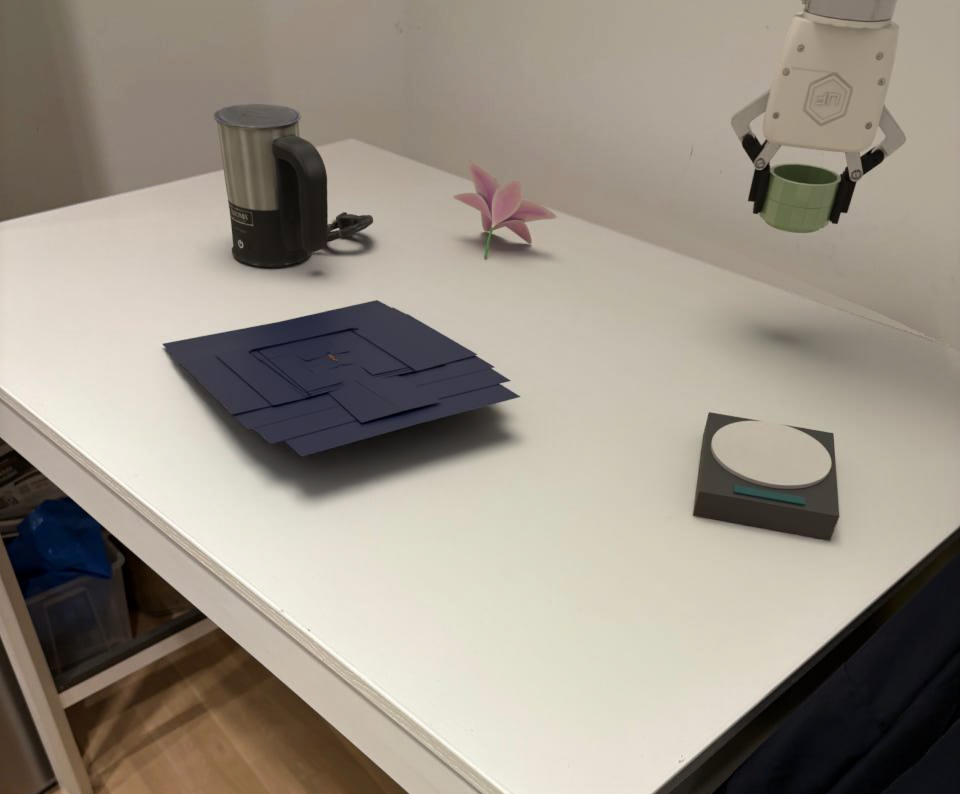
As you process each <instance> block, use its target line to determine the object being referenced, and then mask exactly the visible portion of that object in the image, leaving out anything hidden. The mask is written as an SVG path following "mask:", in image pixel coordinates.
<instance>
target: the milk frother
mask: <svg viewBox="0 0 960 794" xmlns="http://www.w3.org/2000/svg"><path fill="white" fill-rule="evenodd" d="M212 116H213V119H214V121H215V122H216V125H217V133H218V140H219V147H220V154H221V162H222V167H223V168H222V169H223V176H224V182H225V189H226V195H227V202H228V210H229V217H230V227H231V228H230V229H231V237H232V238H231V239H232V247H231V254H232V256H233V257H234V258H235V259H236V260H237V261H239V262H241V263H244V264H246V265H250V266H251V265H252V266H257V267H269V268H270V267H283V266H290V265H293V264H297V263H301V262H302V261H305V260H306V259H308V258H309V257H310V256H311V254H312V253H316V252H319V251H321V250H323V249H325V248H326V247H327V246H328V243H330V242H333V241H336V240H339V239H342V238H346V237H349V236H352V235H353V234H356V233H359V232H361V231H363V230H365V229H367V228H369V226H371V225H372V224H374V217H373V216H372V215H371V214H362V215H357V214H353V213H348V212H347V211H343V212H341V213H340V214H337V215H336V216H335V218H334V219H331V223H328V222H329V221H328V219H329V218H328V217H329V215H328V208H329V207H328V175H327V169H326V165H325V162H324V159H323V158H322V156H321V153H320V152H319V151H318V149H317V148H316V146H314V144H313V143H312V142H310V141H309V140H306V139H305V138H303V137H300V136H301V135H300V124H299V121H300V120H301V118H302V115H301V112H300V111H298V110H297V109H295V108H292V107H289V106H286V105H280V104H274V103H256V102H255V103H239V104H233V105H230V106H225V107H222V108H219V109H217V110H216V111H215V112H214V113H213V115H212Z"/></svg>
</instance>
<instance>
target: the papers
mask: <svg viewBox="0 0 960 794" xmlns="http://www.w3.org/2000/svg"><path fill="white" fill-rule="evenodd" d="M162 345H163V347H164V348H165V349H166V351H168V353H169V355H170V356H171V357H172V358H173V359H174V360H175V361H176V362H177V363H178V364H179V365H180V366H182V367H183V368H184V369H185V370H186V371H187V372H188V373H189V374H190V375H192V377H193V378H195V380H196V381H197V382H198V383H200V384H201V385H202V386H203V387H204V389H206V390H207V391H208V392H209V393H210V394H211V395H212V396H213V397H214V398H215V399H216V400H217V401H218V402H219V403H220V404H221V405H222V406H223V407H224V408H225V409H226V410H227V411H228V412H229V414H230V415H232V417H234V418H235V419H236V420H237V421H238V422H239V423H240V424H242V425H243V427H245V428H246V429H247V430H252V429H253V430H254V431H255V432H256V433H257V434H259V435H260V436H261V437H262V439H264V440H265V441H266V442H268V443H269V444H270V445H271V444H275V443H278V442H285V443H286V444H287V445H288V446H289V447H290V448H291V449H293V450H294V452H296V453H297V454H298V455H299V456H300V457H305V456H309V455H312V454H316V453H319V452H322V451H326V450H331V449H333V448H337V447H340V446H341V447H342V446H344V445H347V444H348V445H349V444H352V443H355V442H358V441H363V440H366V439H369V438H373V437H376V436H380V435H384V434H387V433H390V432H391V433H392V432H394V431H398V430H401V429H405V428H409V427H412V426H415V425H420V424H424V423H426V422H431V421H434V420H438V419H442V418H446V417H450V416H453V415H457V414H461V413H465V412H469V411H472V410H476V409H480V408H484V407H487V406H492V405H496V404H498V403H502V402H507V401H510V400H513V399H514V400H515V399H518V398H521V396H520V394H517V393H515V391H512V390H511V389H509V388H508V387H506V386H504V385H502V384H504V383H508V382H511V381H512V380H510V379H509V378H507V377H506V376H505V375H503V374H501V373H500V372H498V371H497V370H495V369H494V368H495V366H494V365H492V364H491V363H489V362H487V361H485V359H482V358H481V357H479V356H477V355H478V354H477V353H476V352H474V351H472V350H471V349H469V348H467V347H465V346H464V345H462V344H460V343H458V342H457V341H455V340H454V339H451V338H450V337H448V336H446V335H445V334H443V333H441V332H440V331H438V330H436V329H435V328H433V327H431V326H429V325H427V324H425V323H424V322H422V321H421V320H419V319H417V318H415V317H414V316H412V315H410V314H409V313H405V312H404V311H401V310H400V309H398V308H395V307H391V306H389V305H388V304H386V303H384V302H382V301H380V300H378V299H376V300H375V299H374V300H371V301H366V302H361V303H357V304H352V305H347V306H344V307H339V308H335V309H330V310H326V311H321V312H317V313H311V314H308V315H304V316H299V317H294V318H290V319H285V320H281V321H275V322H271V323H264V324H260V325H255V326H249V327H244V328H237V329H234V330H233V329H232V330H229V331H228V330H227V331H223V332H216V333H211V334H206V335H201V336H197V337H195V336H194V337H190V338H186V339H185V338H184V339H179V340H175V341H169V342H163V343H162Z"/></svg>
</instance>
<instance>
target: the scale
mask: <svg viewBox="0 0 960 794" xmlns="http://www.w3.org/2000/svg"><path fill="white" fill-rule="evenodd" d="M834 435H835V433H834V432H831V431H830V432H829V431H824V430H819V429H818V430H817V429H812V428H806V427H801V426H794V425H788V424H782V423H777V422H772V421H765V420H758V419H757V420H756V419H752V418H745V417H742V416H741V417H740V416H734V415H730V414H729V415H728V414H723V413H716V412H711V411H710V412H708V413H707V418H706V422H705V425H704V430H703V433H702V439H701V440H702V441H701V449H700V455H699V463H698V464H699V465H698V472H697V479H696V485H695V487H696V488H695V494H694V495H695V496H694V502H693V503H694V504H693V511H692V515H693V516H696V517H701V518H706V519H707V518H708V519H713V520H718V521H722V522H729V523H734V524H739V525H745V526H751V527H756V528H760V529H761V528H762V529H765V530H772V531H777V532H783V533H789V534H793V535H794V534H795V535H800V536H806V537H809V538H810V537H811V538H815V539H821V540H827V541H831V539H832V537H833V533H834V531H835V528H836V527H837V524H838V521H839V519H840V506H839V505H840V504H839V491H838V477H837V463H836V447H835V436H834Z"/></svg>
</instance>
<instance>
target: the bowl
mask: <svg viewBox="0 0 960 794" xmlns="http://www.w3.org/2000/svg"><path fill="white" fill-rule="evenodd" d="M840 183H841V176H840V174H839V173H838V172H836V171H834V170H831V169H828V168H826V167H823V166H818V165H815V164H808V163H801V162H800V163H799V162H784V163H779V164H775V165H773V166H770V175H769V179H768V183H767V187H766V192H765V196H764V200H763V204H762V208H761V212H760V213H758V216H759V217H760V218H761V219H762V220H763V221H764V222H765V223H766V225H767V226H769V227H771V228H773V229H777V230H779V231H783V232H787V233H793V234H811V233H815V232H817V231H820V229H824V228H826V227H827V226H828V225H830V223H831V222H830V218H831V214H832V211H833V207H834V204H835V201H836V197H837V194H838V190H839V187H840Z"/></svg>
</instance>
